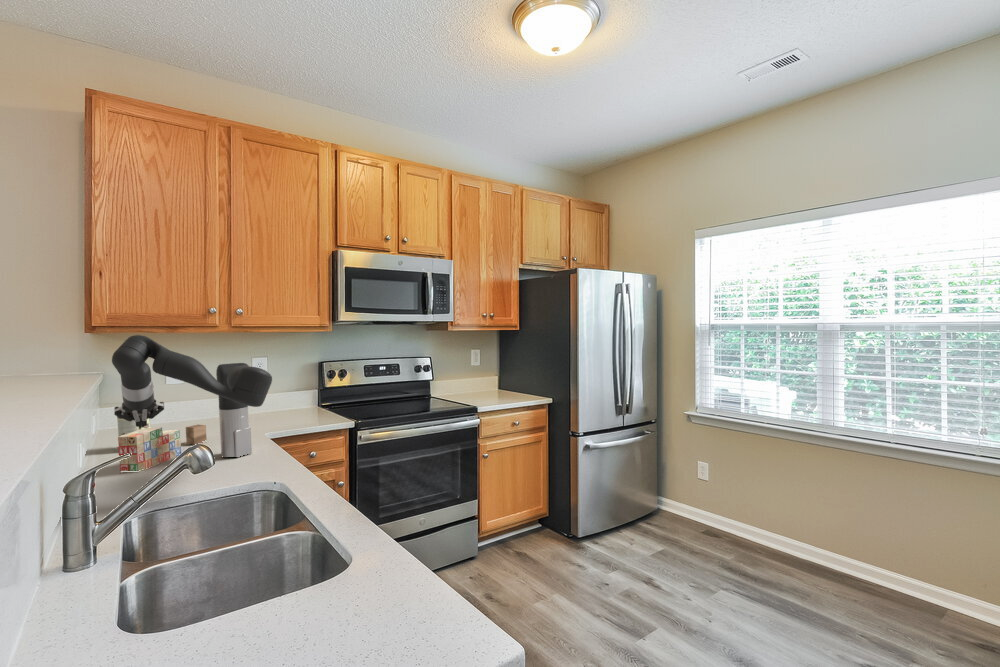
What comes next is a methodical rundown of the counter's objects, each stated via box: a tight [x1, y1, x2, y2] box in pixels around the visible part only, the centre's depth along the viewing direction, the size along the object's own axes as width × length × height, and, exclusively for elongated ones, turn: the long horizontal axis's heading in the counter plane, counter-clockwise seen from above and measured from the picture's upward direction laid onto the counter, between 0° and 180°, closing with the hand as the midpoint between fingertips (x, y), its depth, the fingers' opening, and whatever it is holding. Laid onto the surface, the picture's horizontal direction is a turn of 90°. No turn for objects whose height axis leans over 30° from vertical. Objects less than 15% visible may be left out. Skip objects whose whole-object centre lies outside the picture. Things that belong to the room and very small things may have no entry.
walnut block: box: [185, 423, 208, 446], centre depth 198 cm, size 5×5×7 cm
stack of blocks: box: [117, 427, 182, 472], centre depth 171 cm, size 21×6×12 cm, turn 179°
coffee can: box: [116, 412, 151, 437], centre depth 192 cm, size 10×10×14 cm
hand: (141, 425), depth 156 cm, fingers closed
